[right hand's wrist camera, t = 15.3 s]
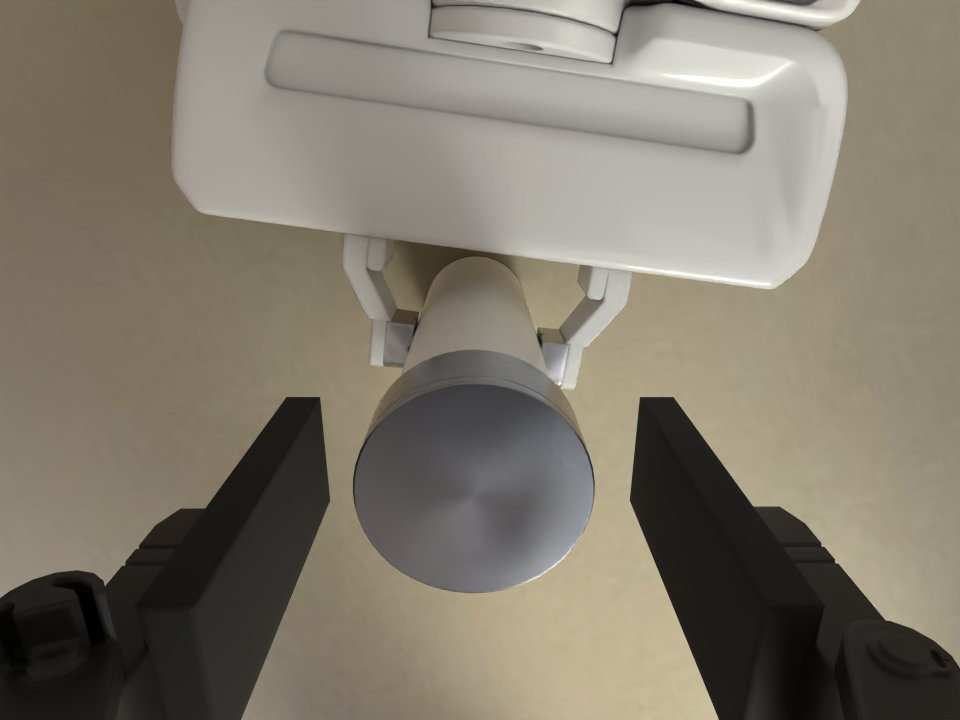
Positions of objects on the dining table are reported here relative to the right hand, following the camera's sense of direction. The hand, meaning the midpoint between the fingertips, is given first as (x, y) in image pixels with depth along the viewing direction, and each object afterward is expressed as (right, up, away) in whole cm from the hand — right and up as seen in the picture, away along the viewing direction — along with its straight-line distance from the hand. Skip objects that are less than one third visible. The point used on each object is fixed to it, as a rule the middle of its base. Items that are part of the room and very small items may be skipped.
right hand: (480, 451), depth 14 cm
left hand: (0, +2, +8) cm, 8 cm away
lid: (0, -1, -1) cm, 1 cm away
